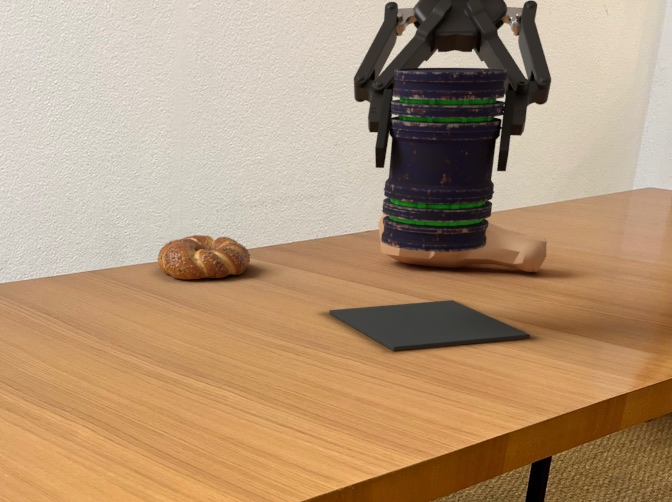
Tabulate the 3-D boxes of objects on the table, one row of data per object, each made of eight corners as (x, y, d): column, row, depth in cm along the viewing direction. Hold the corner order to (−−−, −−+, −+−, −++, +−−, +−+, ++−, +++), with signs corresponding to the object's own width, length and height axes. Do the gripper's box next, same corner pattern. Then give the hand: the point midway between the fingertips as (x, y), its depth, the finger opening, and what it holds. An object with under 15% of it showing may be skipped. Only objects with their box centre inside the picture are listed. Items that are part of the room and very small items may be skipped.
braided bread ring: (212, 286, 118) (212, 253, 116) (136, 274, 124) (135, 243, 122) (268, 268, 127) (269, 237, 125) (194, 258, 133) (195, 228, 131)
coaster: (529, 338, 98) (530, 334, 98) (393, 351, 94) (393, 346, 94) (452, 303, 110) (452, 300, 110) (329, 313, 107) (329, 310, 106)
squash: (380, 255, 134) (398, 183, 132) (539, 289, 128) (561, 213, 125) (361, 256, 125) (380, 178, 122) (531, 292, 118) (555, 211, 115)
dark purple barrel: (388, 252, 95) (403, 72, 88) (372, 232, 103) (384, 68, 97) (499, 252, 94) (523, 72, 88) (474, 232, 103) (493, 67, 97)
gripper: (584, -3, 101) (568, 190, 94) (348, -1, 106) (316, 182, 99) (598, -71, 94) (582, 133, 87) (345, -64, 99) (310, 128, 92)
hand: (440, 159), depth 93 cm, fingers closed on dark purple barrel, 10 cm apart
